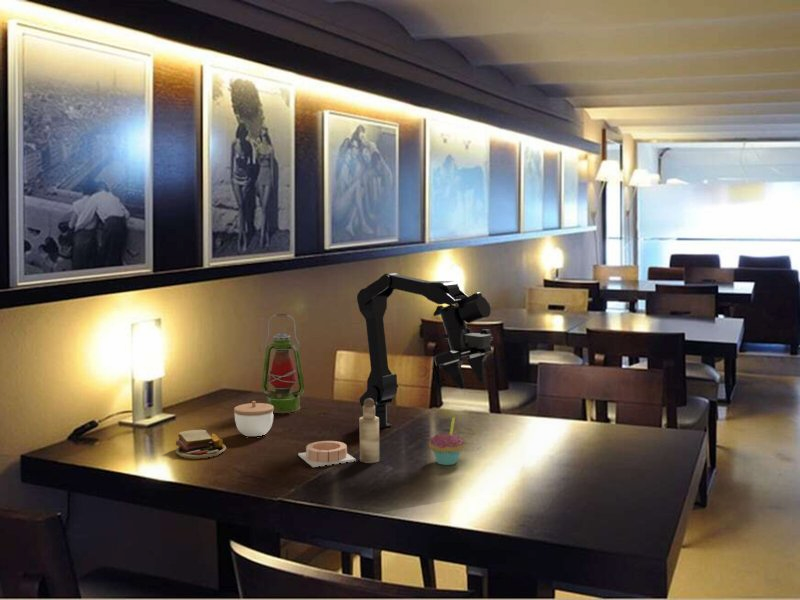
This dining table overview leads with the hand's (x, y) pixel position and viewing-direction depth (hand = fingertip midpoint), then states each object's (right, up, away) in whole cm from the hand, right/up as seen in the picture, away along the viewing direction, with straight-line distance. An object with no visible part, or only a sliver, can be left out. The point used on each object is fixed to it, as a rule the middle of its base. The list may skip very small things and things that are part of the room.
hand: (472, 385), depth 218 cm
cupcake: (-8, -17, -14) cm, 24 cm away
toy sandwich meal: (-70, -17, -4) cm, 72 cm away
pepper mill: (-26, -17, -12) cm, 34 cm away
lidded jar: (-59, -15, +12) cm, 62 cm away
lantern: (-55, -12, +42) cm, 70 cm away
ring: (-37, -17, -11) cm, 42 cm away
